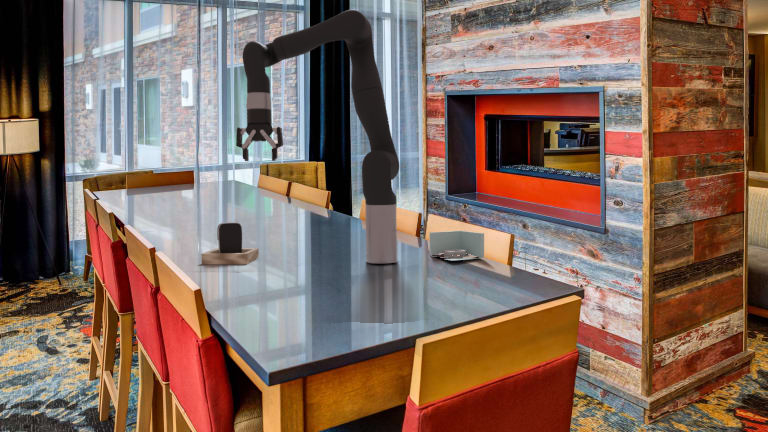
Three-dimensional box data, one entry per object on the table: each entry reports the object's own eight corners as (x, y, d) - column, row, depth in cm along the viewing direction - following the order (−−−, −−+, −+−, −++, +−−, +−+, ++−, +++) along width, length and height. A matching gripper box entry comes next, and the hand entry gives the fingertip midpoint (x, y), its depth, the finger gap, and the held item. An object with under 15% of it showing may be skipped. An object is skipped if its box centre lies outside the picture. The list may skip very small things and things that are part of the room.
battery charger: (239, 258, 188) (239, 221, 188) (243, 260, 185) (242, 222, 184) (216, 260, 185) (215, 222, 184) (219, 262, 182) (218, 223, 181)
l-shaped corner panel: (429, 256, 194) (429, 232, 193) (461, 253, 199) (461, 230, 199) (451, 260, 183) (451, 235, 183) (484, 257, 189) (484, 233, 188)
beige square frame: (258, 258, 191) (258, 248, 191) (247, 264, 178) (247, 253, 178) (216, 258, 192) (215, 248, 192) (201, 264, 179) (201, 253, 178)
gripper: (284, 109, 195) (285, 161, 196) (239, 110, 196) (240, 161, 197) (279, 106, 188) (280, 160, 189) (232, 107, 188) (234, 160, 189)
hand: (260, 160), depth 193 cm, fingers open, 8 cm apart
